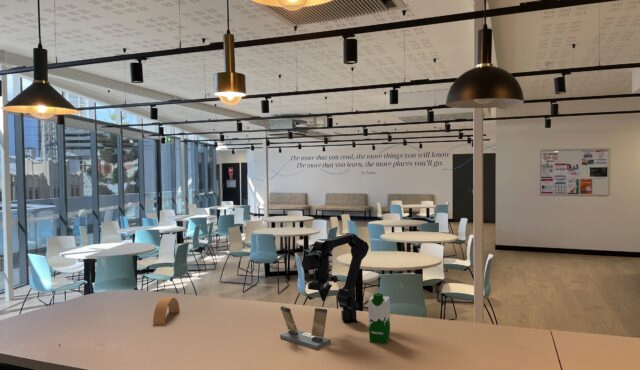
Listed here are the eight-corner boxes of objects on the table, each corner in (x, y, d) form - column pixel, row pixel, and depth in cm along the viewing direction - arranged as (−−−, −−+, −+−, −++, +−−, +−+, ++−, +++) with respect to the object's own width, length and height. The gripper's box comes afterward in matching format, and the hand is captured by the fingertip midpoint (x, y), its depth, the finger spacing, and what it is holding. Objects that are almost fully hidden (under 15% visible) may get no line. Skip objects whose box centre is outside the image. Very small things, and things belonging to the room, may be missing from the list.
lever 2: (313, 335, 189) (316, 308, 192) (323, 337, 186) (327, 309, 189) (311, 335, 187) (314, 307, 190) (322, 337, 185) (325, 309, 188)
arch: (180, 312, 235) (179, 293, 235) (164, 324, 215) (163, 304, 215) (169, 312, 235) (168, 293, 235) (152, 324, 215) (152, 304, 215)
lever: (290, 327, 198) (283, 305, 195) (297, 330, 193) (289, 307, 191) (287, 329, 196) (279, 307, 194) (294, 332, 192) (286, 310, 190)
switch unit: (294, 332, 201) (294, 326, 201) (330, 343, 188) (330, 337, 187) (280, 338, 194) (280, 332, 194) (317, 349, 181) (316, 343, 181)
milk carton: (367, 342, 187) (366, 295, 187) (371, 335, 196) (371, 289, 195) (388, 344, 184) (387, 296, 184) (391, 337, 193) (391, 291, 192)
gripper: (317, 262, 216) (317, 294, 216) (297, 269, 199) (298, 304, 200) (337, 263, 211) (338, 296, 211) (319, 271, 194) (320, 307, 194)
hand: (323, 301), depth 204 cm, fingers closed
